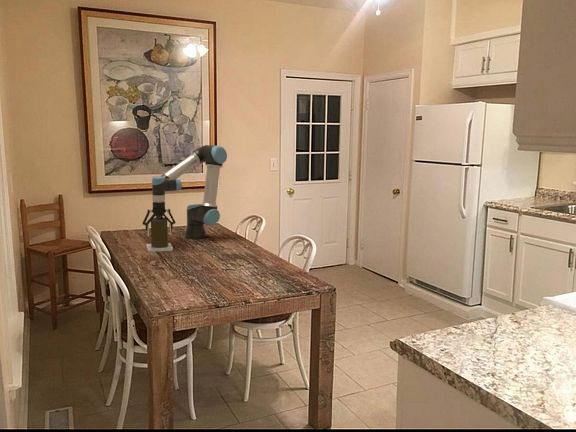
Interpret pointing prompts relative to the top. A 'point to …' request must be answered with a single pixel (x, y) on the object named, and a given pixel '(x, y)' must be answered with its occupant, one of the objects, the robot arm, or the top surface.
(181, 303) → the top surface
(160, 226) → the canister
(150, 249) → the trivet
